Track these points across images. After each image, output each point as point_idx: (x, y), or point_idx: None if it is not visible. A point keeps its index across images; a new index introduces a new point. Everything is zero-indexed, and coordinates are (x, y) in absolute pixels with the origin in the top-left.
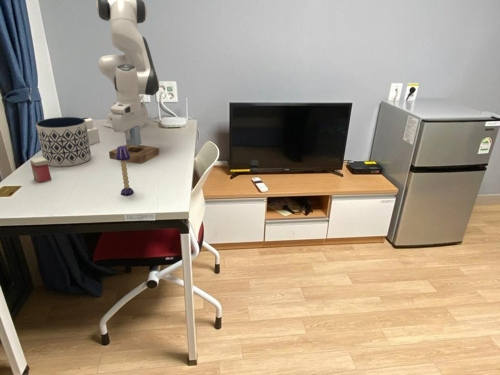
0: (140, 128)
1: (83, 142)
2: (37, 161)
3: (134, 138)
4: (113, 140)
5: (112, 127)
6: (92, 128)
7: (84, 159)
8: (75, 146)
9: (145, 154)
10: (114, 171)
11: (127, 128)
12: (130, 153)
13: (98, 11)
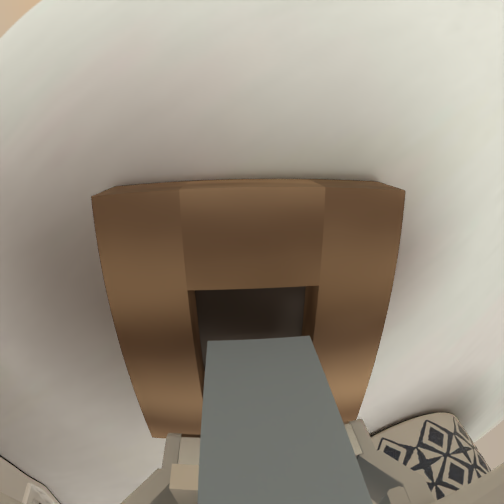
0: (128, 497)
1: (446, 481)
2: None
3: (330, 404)
4: (122, 483)
5: (56, 501)
6: None
7: (424, 423)
8: (472, 462)
9: (330, 187)
10: (495, 246)
11: (479, 498)
12: (352, 316)
13: None
